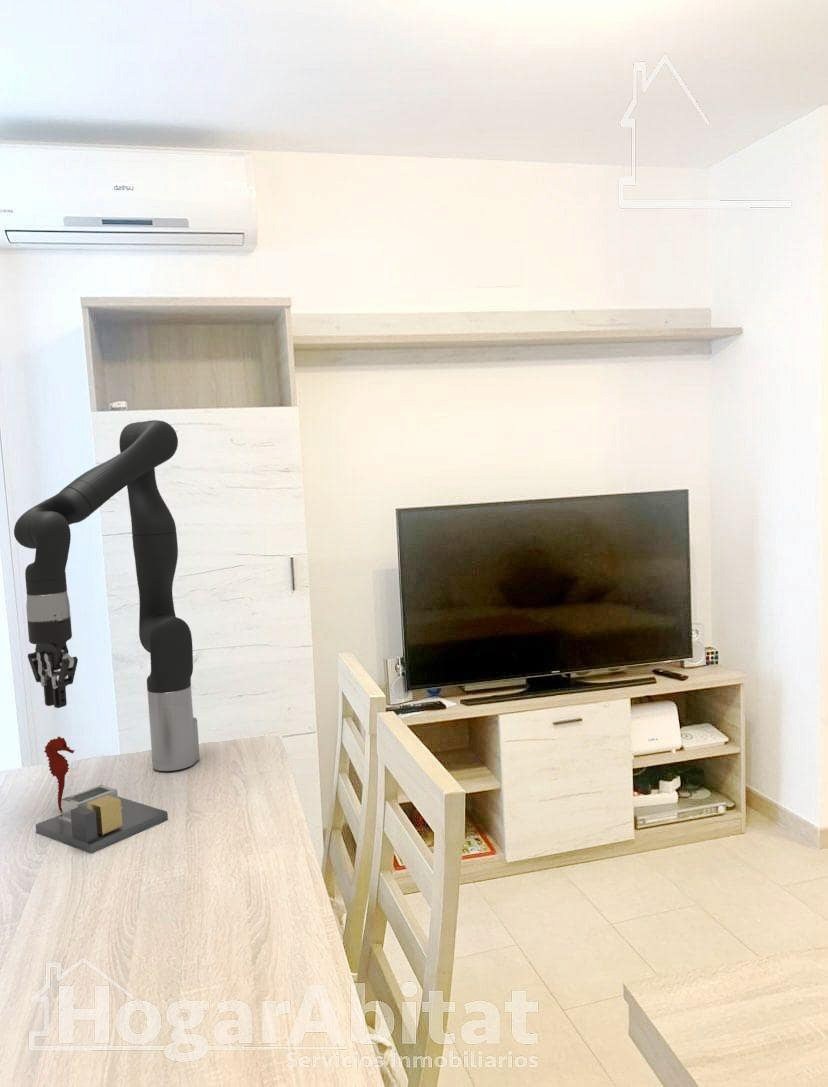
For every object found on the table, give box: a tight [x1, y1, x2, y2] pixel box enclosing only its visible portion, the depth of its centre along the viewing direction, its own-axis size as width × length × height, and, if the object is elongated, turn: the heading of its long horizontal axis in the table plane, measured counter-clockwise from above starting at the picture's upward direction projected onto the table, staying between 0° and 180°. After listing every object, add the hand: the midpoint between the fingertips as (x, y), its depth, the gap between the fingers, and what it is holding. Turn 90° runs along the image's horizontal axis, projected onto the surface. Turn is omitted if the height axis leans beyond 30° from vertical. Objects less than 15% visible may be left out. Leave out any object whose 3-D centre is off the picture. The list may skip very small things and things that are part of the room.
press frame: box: [35, 784, 169, 854], centre depth 150 cm, size 16×17×6 cm
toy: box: [43, 736, 76, 813], centre depth 157 cm, size 2×5×15 cm, turn 119°
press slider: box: [87, 795, 123, 835], centre depth 144 cm, size 4×4×5 cm
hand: (56, 705), depth 156 cm, fingers closed
